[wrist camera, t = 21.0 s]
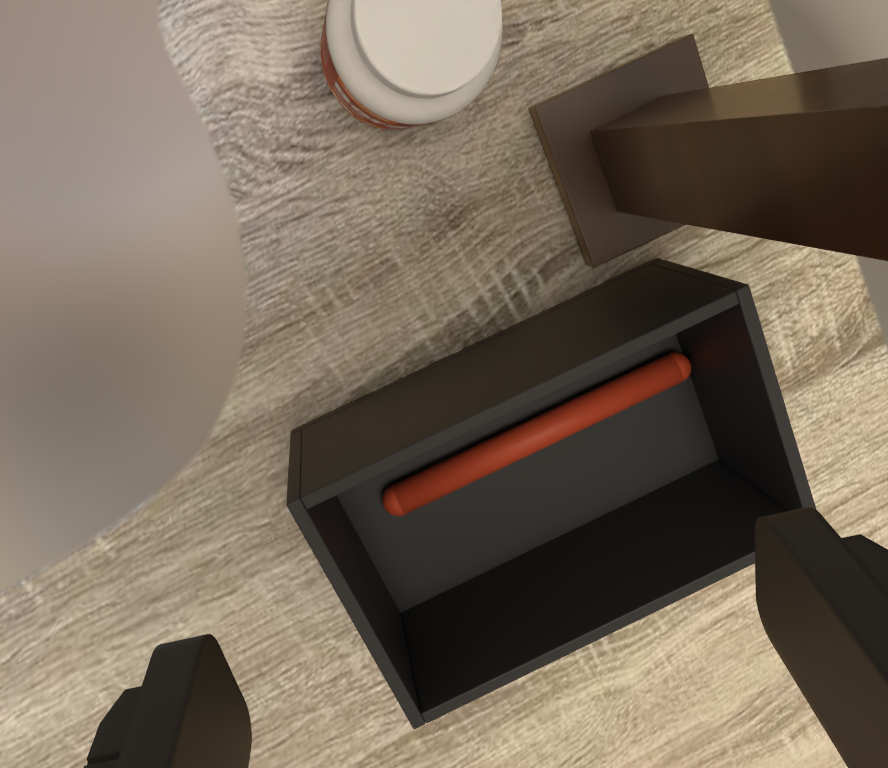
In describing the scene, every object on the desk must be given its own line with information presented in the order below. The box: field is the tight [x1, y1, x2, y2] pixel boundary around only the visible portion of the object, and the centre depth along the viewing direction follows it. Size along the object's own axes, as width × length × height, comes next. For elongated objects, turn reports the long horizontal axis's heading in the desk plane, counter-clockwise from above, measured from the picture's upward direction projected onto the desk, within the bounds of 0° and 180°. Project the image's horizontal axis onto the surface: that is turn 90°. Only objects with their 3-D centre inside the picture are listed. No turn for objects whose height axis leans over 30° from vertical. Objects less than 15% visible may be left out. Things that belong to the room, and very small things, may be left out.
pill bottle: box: [321, 0, 502, 130], centre depth 29 cm, size 6×6×11 cm
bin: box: [287, 258, 816, 729], centre depth 37 cm, size 20×12×9 cm, turn 114°
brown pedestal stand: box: [529, 34, 888, 268], centre depth 21 cm, size 11×8×35 cm
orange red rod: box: [382, 352, 691, 516], centre depth 39 cm, size 17×2×2 cm, turn 114°
